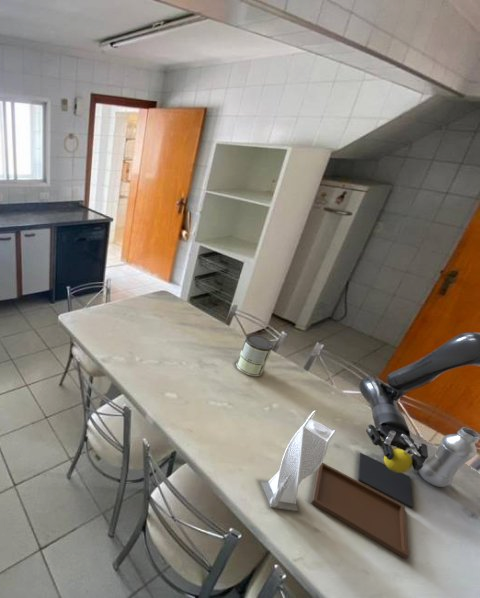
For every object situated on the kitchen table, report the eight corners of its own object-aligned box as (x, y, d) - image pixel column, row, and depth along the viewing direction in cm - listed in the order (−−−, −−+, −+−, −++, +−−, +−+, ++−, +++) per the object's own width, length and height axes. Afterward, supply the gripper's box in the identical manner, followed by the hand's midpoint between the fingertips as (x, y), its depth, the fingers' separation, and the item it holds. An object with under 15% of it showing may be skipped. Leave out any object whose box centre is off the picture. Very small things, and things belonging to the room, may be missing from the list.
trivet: (408, 477, 98) (409, 476, 98) (411, 508, 89) (413, 507, 89) (359, 453, 104) (360, 452, 104) (358, 480, 96) (359, 478, 96)
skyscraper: (258, 477, 94) (295, 406, 81) (287, 481, 94) (329, 411, 81) (270, 507, 87) (313, 434, 74) (302, 512, 86) (350, 439, 73)
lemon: (380, 457, 99) (393, 439, 95) (404, 470, 95) (419, 452, 91) (376, 468, 95) (391, 450, 91) (401, 482, 92) (417, 464, 88)
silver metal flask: (439, 493, 94) (483, 446, 85) (410, 473, 99) (449, 426, 90) (449, 485, 96) (494, 439, 87) (421, 466, 102) (460, 420, 93)
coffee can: (233, 359, 145) (243, 332, 138) (257, 363, 143) (268, 336, 137) (239, 374, 136) (249, 346, 129) (265, 378, 134) (277, 350, 128)
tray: (401, 509, 89) (404, 505, 88) (405, 559, 78) (408, 556, 77) (318, 464, 100) (320, 461, 99) (311, 503, 89) (313, 499, 88)
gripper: (367, 403, 105) (378, 441, 91) (425, 423, 99) (447, 467, 85) (356, 420, 108) (365, 459, 95) (412, 440, 102) (430, 484, 89)
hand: (404, 462), depth 90 cm, fingers closed on lemon, 5 cm apart
